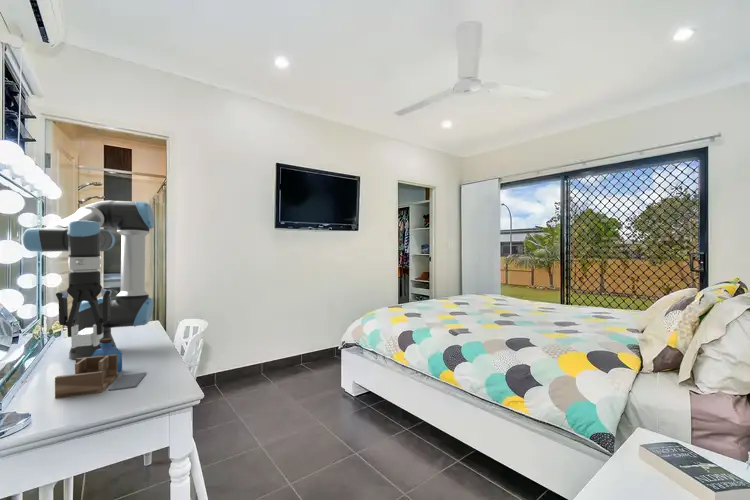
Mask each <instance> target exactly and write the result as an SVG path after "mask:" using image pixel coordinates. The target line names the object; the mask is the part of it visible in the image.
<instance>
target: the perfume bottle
mask: <svg viewBox="0 0 750 500" xmlns="http://www.w3.org/2000/svg"><path fill="white" fill-rule="evenodd" d="M111 340H112V338H104V339H101V343H100V346H101V349H97V350H96V351H95V352H94V353H93V355H92V356H91V357H95V356H105V355H115V354H118V373H119V372H122V371H123V353H122V351H120V349H118V347H117V346H116V347H112V344H113V342H112V341H111Z"/></svg>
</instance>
